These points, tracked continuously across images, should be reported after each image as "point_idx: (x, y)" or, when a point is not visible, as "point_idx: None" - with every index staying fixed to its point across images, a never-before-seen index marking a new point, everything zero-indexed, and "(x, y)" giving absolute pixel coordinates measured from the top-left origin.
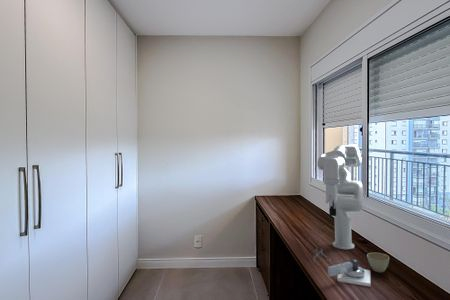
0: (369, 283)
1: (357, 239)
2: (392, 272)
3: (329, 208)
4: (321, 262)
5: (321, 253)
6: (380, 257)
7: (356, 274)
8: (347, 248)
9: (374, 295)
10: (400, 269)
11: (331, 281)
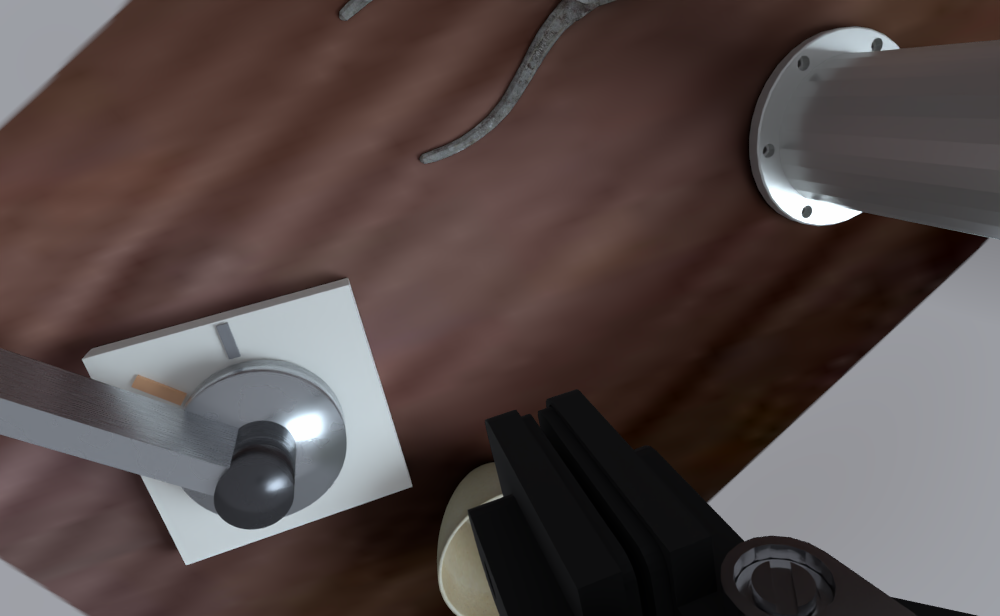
0: (184, 559)
1: None
2: None
3: (570, 589)
4: (372, 81)
5: (567, 6)
6: None
7: (189, 491)
8: (765, 192)
9: (77, 609)
10: None
11: (41, 311)
